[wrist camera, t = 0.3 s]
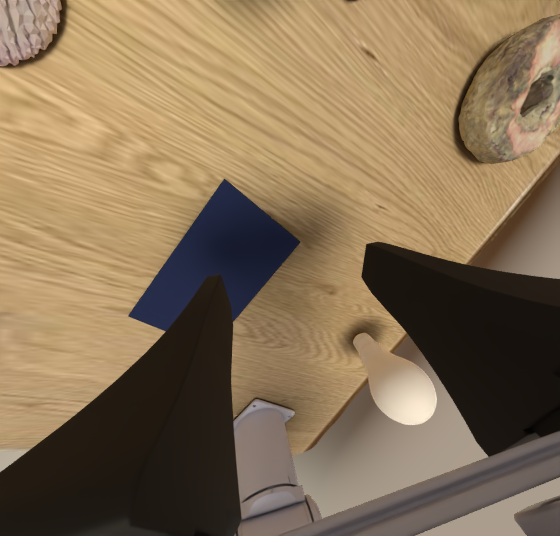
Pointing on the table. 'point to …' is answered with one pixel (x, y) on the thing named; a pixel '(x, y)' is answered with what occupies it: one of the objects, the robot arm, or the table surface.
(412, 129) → the table surface
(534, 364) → the robot arm
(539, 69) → the stone ring
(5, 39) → the seashell
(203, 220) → the cloth
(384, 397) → the lightbulb
